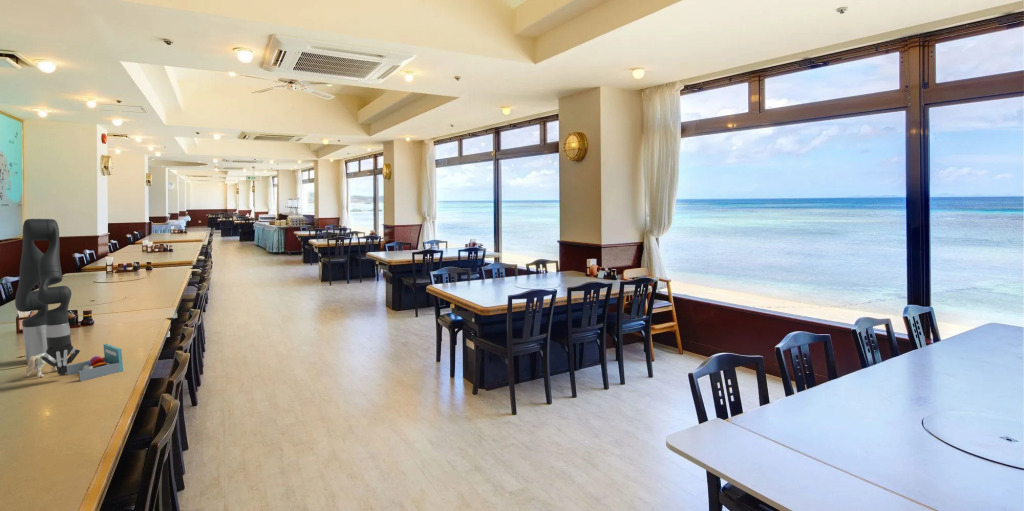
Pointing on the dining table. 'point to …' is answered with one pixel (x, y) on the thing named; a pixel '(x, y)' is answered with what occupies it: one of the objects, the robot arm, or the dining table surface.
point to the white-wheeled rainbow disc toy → (95, 363)
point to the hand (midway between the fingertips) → (62, 374)
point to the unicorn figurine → (38, 364)
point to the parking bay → (110, 356)
